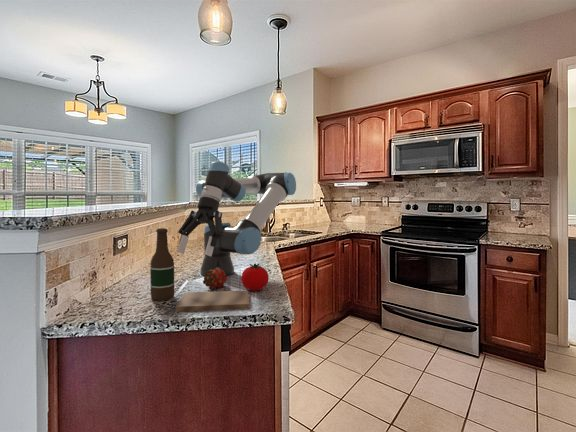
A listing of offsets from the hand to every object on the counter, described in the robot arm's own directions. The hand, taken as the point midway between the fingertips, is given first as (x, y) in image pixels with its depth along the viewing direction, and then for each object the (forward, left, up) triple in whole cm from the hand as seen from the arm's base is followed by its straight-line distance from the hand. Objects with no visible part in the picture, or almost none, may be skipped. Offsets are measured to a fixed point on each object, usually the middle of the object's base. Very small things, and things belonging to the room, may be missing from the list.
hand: (193, 254), depth 108 cm
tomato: (-15, +16, -15) cm, 27 cm away
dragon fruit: (-10, +1, -15) cm, 18 cm away
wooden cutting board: (+3, +12, -15) cm, 19 cm away
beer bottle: (+8, -7, -15) cm, 18 cm away
